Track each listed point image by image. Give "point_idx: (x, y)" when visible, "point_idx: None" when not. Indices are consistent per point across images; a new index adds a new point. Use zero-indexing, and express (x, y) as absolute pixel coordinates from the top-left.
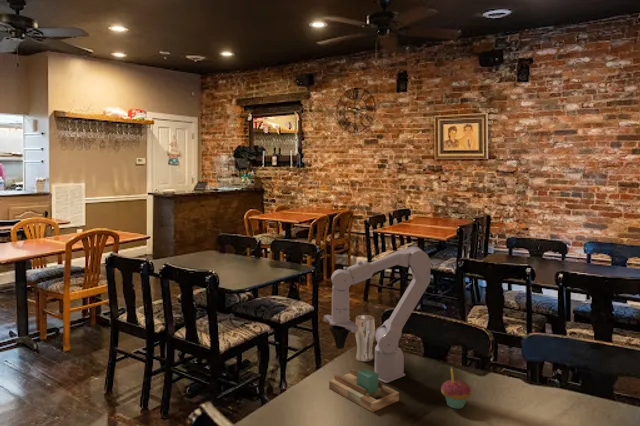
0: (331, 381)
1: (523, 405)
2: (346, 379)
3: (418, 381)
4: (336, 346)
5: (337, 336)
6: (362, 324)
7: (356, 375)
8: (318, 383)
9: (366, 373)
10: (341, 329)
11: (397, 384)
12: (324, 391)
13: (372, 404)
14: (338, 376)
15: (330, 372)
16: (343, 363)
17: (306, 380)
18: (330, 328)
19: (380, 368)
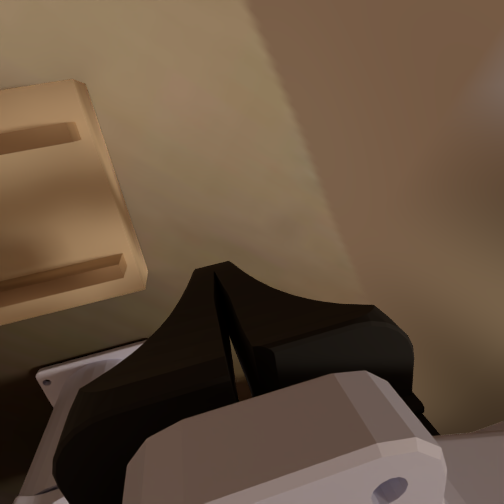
0: (52, 86)
1: None
2: (50, 195)
3: (19, 478)
4: (227, 264)
5: (192, 325)
6: None
7: (66, 268)
8: (176, 60)
9: None
10: (101, 493)
11: (16, 405)
12: (52, 29)
13: None
14: (30, 137)
15: (268, 197)
16: (317, 293)
17: (245, 13)
18: (348, 318)
19: (68, 406)
